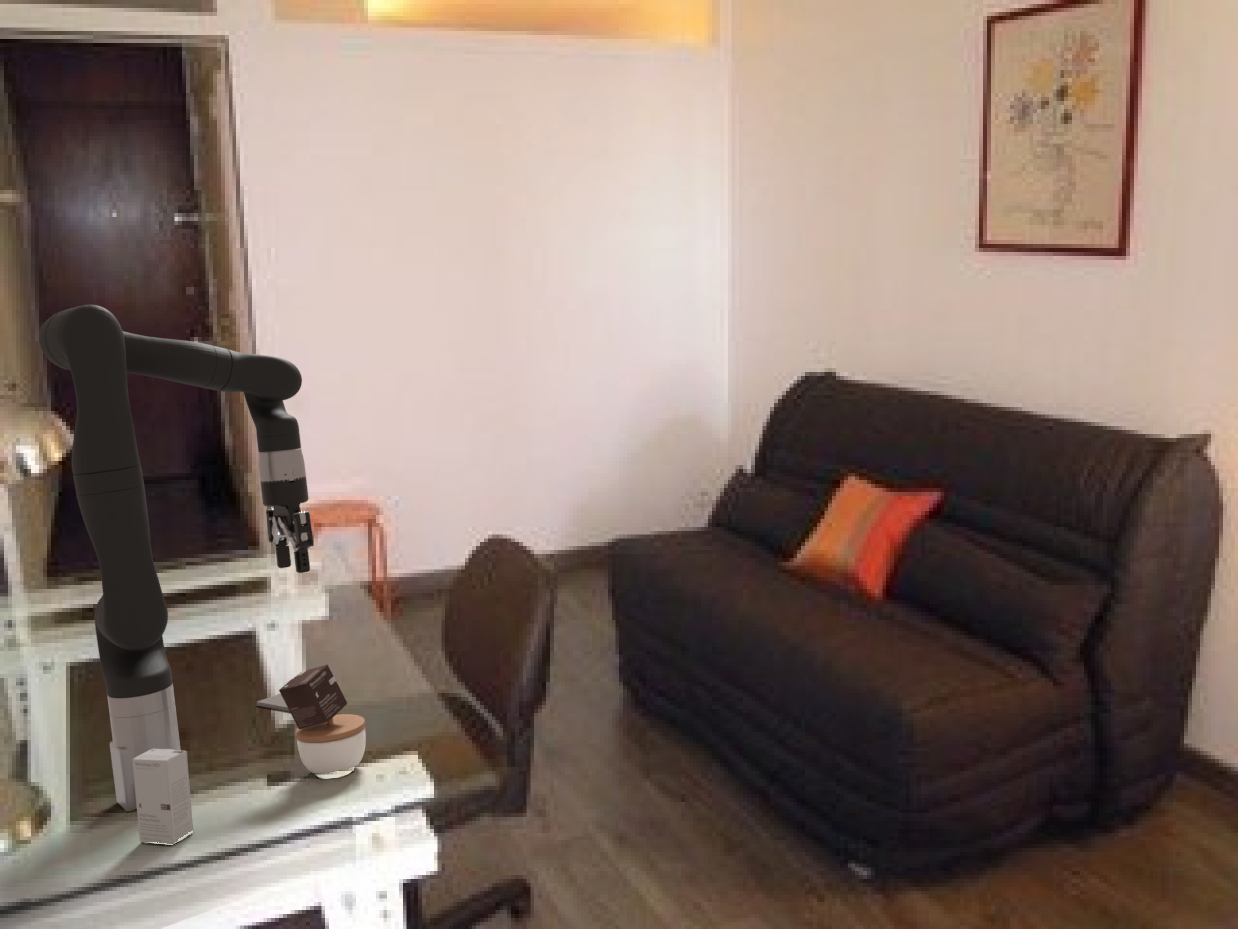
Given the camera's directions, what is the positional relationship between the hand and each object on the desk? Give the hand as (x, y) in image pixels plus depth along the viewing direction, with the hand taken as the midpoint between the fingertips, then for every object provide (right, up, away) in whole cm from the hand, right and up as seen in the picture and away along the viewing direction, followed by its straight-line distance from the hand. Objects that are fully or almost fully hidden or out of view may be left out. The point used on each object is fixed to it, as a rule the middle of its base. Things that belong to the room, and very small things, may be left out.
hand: (293, 569), depth 183 cm
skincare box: (-7, -34, -35) cm, 49 cm away
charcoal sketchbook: (-7, -29, +27) cm, 40 cm away
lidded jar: (+11, -31, -14) cm, 36 cm away
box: (+10, -22, -16) cm, 28 cm away
